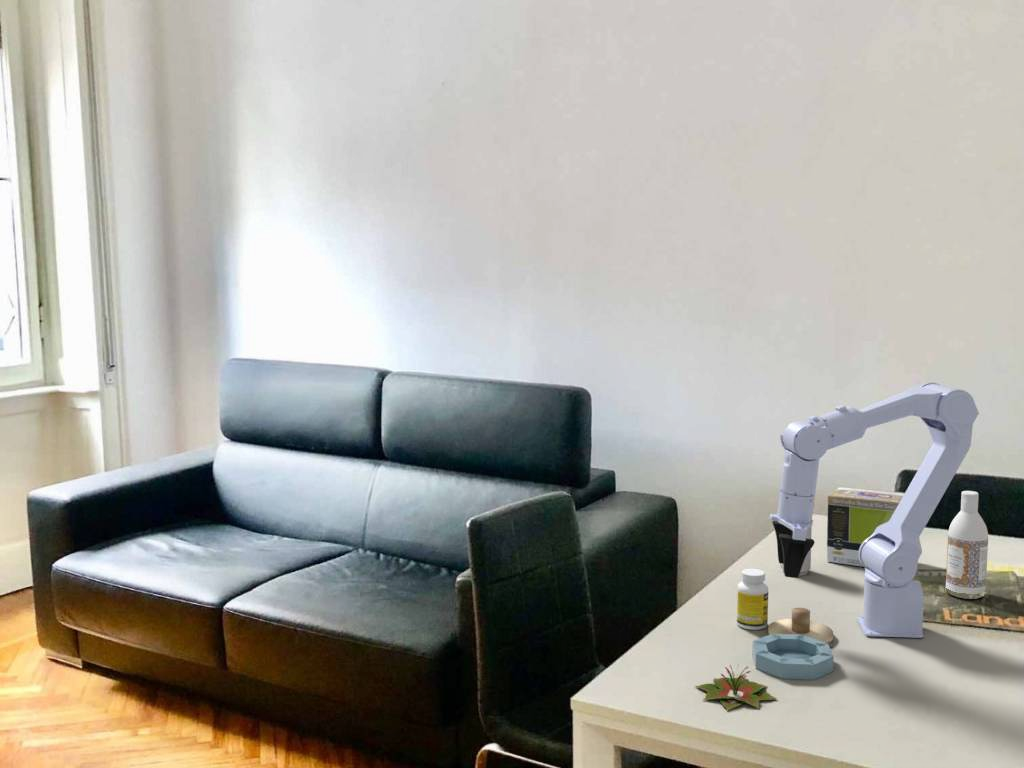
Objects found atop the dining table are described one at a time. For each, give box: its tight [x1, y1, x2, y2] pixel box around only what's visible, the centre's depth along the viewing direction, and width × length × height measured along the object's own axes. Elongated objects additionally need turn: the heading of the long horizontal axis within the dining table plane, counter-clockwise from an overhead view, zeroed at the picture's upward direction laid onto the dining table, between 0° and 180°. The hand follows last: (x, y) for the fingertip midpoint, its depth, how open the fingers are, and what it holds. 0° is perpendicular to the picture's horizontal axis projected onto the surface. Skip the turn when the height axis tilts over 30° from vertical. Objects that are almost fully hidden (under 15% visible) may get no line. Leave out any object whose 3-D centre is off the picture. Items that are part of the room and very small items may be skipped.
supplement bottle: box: [736, 568, 769, 631], centre depth 179 cm, size 5×5×10 cm
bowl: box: [752, 634, 835, 681], centre depth 163 cm, size 12×12×2 cm
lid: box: [767, 607, 834, 643], centre depth 174 cm, size 11×11×4 cm
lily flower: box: [694, 663, 777, 712], centre depth 152 cm, size 12×12×5 cm
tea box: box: [826, 486, 905, 568], centre depth 212 cm, size 15×10×15 cm, turn 58°
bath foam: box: [945, 490, 989, 594], centre depth 191 cm, size 7×7×20 cm
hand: (787, 570), depth 173 cm, fingers open, 7 cm apart
